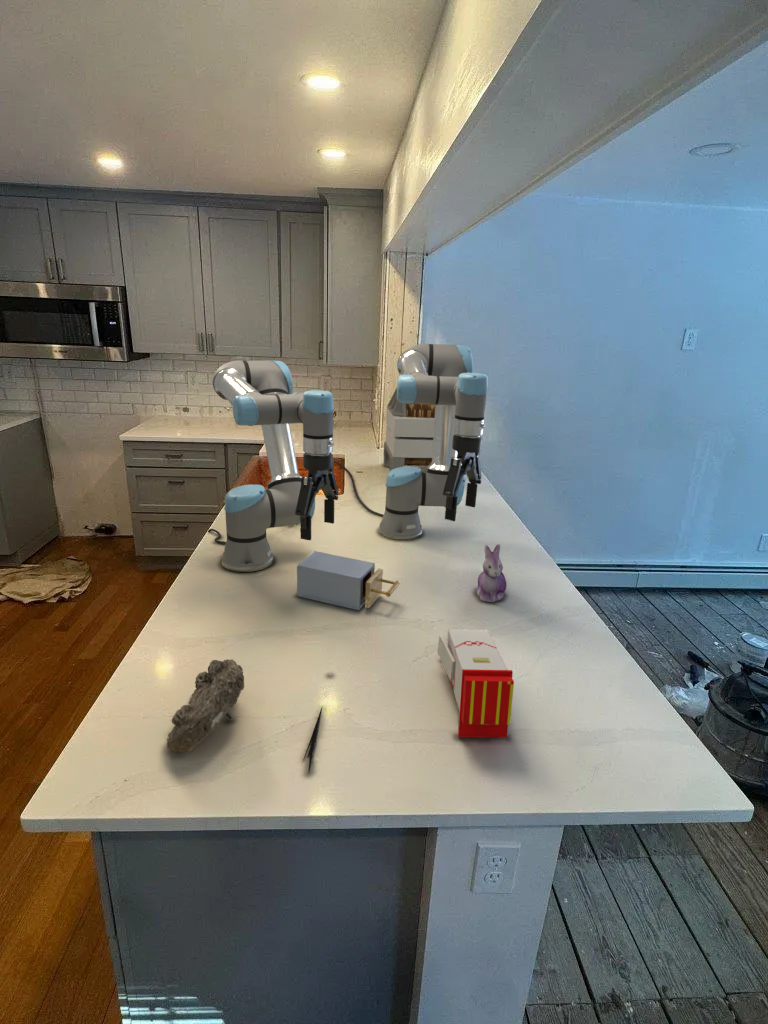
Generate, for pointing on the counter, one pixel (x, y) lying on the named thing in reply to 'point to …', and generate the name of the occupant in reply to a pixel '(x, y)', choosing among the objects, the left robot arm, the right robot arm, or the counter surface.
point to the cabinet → (332, 579)
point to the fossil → (206, 705)
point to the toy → (478, 682)
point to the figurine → (491, 577)
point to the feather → (313, 740)
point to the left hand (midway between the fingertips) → (318, 530)
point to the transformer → (408, 434)
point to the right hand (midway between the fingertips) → (460, 512)
